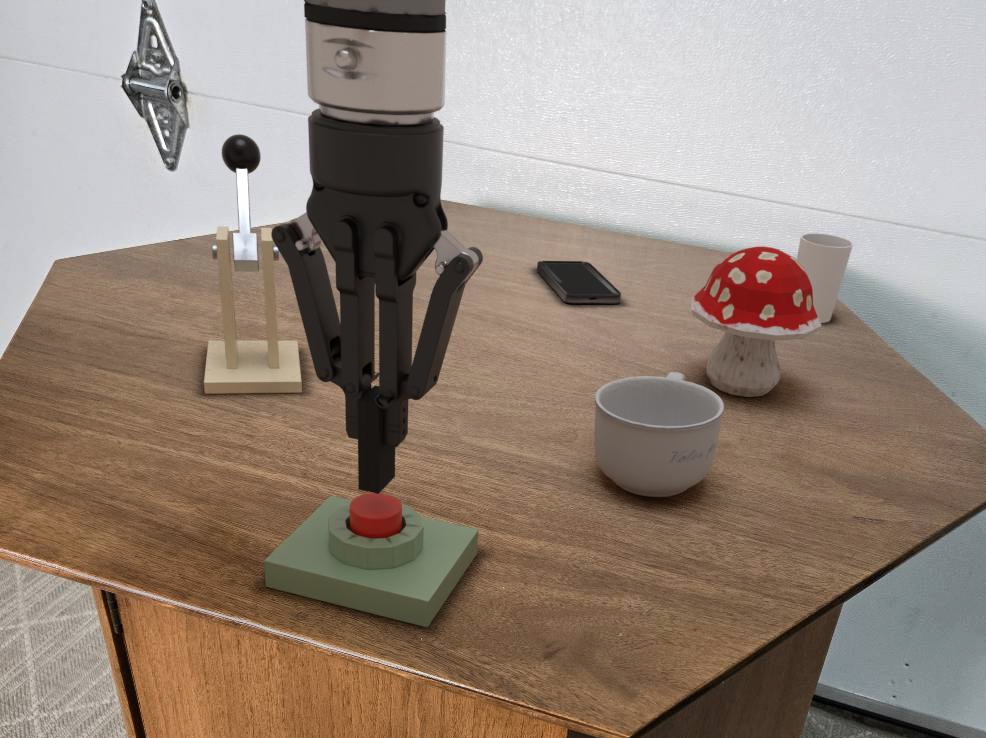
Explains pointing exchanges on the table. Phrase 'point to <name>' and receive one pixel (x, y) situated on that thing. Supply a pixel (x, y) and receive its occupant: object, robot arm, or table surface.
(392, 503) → the button
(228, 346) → the bracket
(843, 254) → the drinking glass
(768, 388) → the decorative mushroom
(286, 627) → the table surface
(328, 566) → the control block
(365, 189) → the robot arm
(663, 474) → the teacup
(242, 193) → the lever
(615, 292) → the phone
